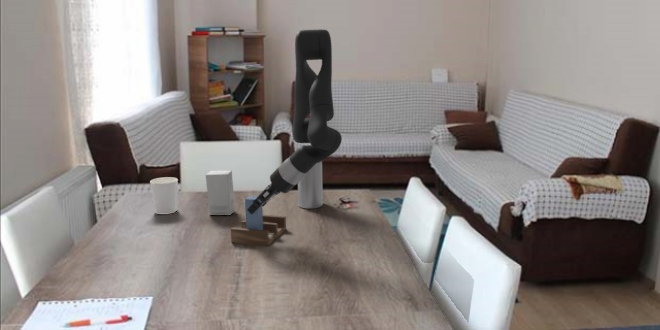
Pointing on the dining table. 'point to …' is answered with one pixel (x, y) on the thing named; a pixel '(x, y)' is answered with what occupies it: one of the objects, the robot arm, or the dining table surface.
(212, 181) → the skincare box
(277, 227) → the rack
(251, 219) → the block
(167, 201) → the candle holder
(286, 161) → the robot arm
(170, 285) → the dining table surface
